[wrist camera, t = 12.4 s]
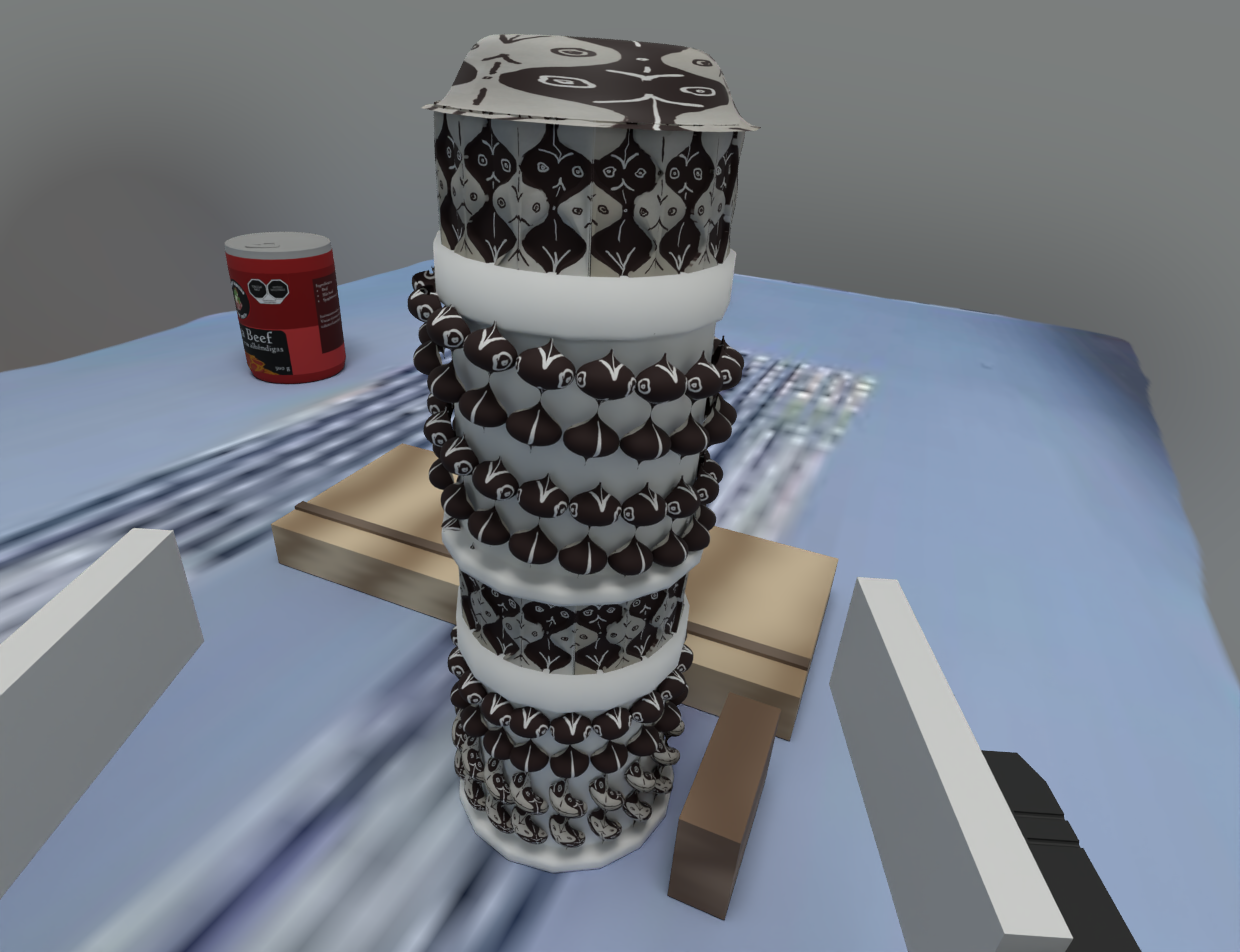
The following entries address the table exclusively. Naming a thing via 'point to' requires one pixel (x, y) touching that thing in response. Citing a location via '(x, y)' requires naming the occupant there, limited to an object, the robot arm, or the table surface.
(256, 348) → the canned food
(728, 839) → the brown flat block
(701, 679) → the oak board
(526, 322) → the decorative candle
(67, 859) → the table surface
